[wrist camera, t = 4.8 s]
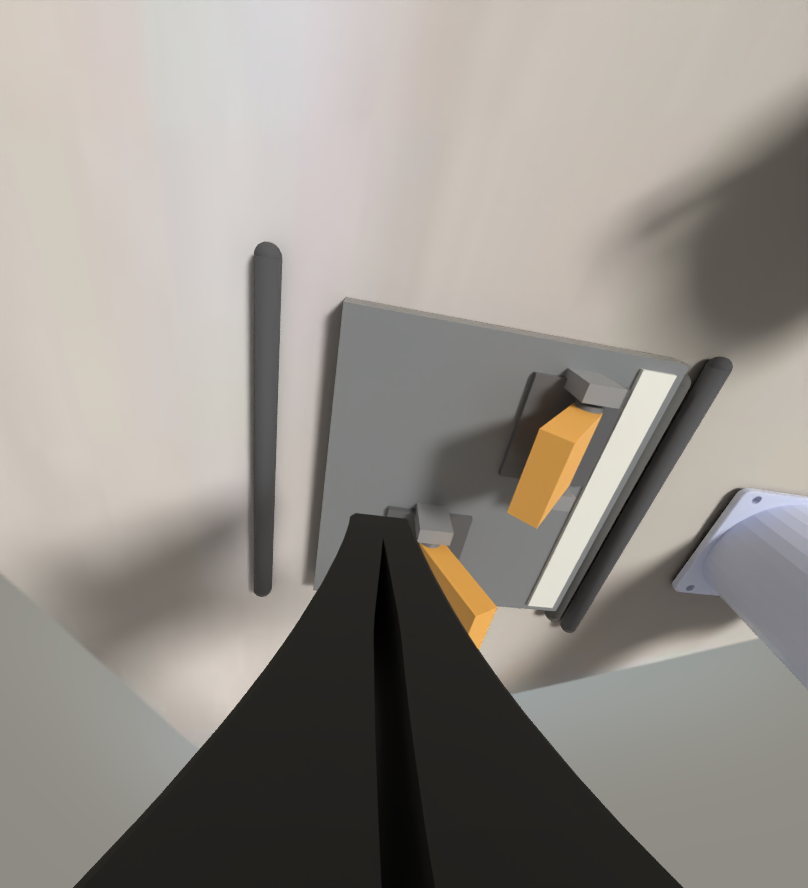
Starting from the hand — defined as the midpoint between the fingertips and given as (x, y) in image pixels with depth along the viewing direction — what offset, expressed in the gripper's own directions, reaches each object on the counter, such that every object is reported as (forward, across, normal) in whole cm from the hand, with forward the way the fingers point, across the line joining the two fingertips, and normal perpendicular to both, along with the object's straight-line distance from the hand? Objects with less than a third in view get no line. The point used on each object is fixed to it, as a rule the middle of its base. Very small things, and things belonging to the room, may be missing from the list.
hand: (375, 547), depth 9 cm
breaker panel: (+10, -6, +4) cm, 12 cm away
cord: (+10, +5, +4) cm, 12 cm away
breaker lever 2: (+7, -8, 0) cm, 11 cm away
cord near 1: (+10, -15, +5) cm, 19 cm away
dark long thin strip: (+10, -14, +5) cm, 17 cm away
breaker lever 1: (+7, -4, +8) cm, 11 cm away
